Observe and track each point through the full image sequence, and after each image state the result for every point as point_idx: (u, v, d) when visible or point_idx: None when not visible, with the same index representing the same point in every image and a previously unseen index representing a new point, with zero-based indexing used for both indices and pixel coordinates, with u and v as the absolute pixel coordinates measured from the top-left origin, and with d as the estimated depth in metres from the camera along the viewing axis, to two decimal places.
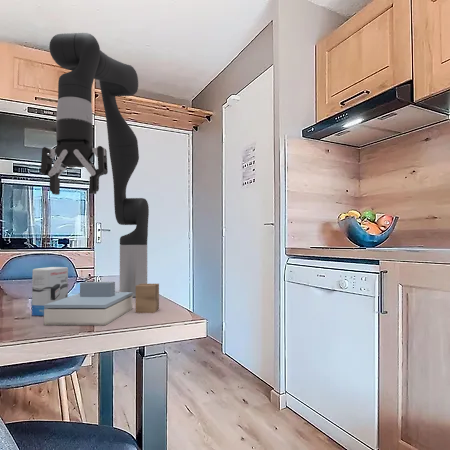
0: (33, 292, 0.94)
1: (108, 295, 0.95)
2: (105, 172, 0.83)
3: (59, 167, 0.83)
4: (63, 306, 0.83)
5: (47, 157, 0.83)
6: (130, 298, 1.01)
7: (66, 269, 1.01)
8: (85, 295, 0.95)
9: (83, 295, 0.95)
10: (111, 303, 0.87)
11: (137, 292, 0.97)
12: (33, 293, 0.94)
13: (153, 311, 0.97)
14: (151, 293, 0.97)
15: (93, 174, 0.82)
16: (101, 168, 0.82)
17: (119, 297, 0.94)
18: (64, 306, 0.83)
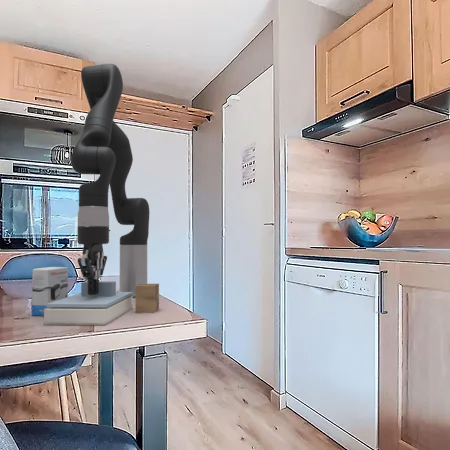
0: (33, 292, 0.94)
1: (109, 295, 0.95)
2: None
3: None
4: (64, 305, 0.84)
5: None
6: (130, 298, 1.01)
7: (66, 269, 1.01)
8: (86, 295, 0.96)
9: (84, 295, 0.96)
10: (112, 302, 0.87)
11: (137, 292, 0.97)
12: (33, 293, 0.94)
13: (153, 311, 0.97)
14: (151, 293, 0.97)
15: (99, 277, 0.94)
16: (102, 271, 0.96)
17: (120, 297, 0.94)
18: (65, 305, 0.84)
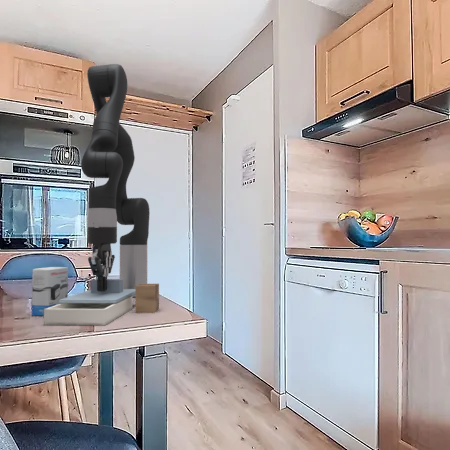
0: (33, 292, 0.94)
1: (117, 291, 1.01)
2: None
3: None
4: (76, 301, 0.90)
5: None
6: (130, 298, 1.01)
7: (66, 269, 1.01)
8: (95, 291, 1.01)
9: (93, 291, 1.02)
10: (120, 299, 0.93)
11: (137, 292, 0.97)
12: (33, 293, 0.94)
13: (153, 311, 0.97)
14: (151, 293, 0.97)
15: (107, 275, 1.00)
16: (110, 270, 1.02)
17: (127, 293, 1.00)
18: (77, 301, 0.90)
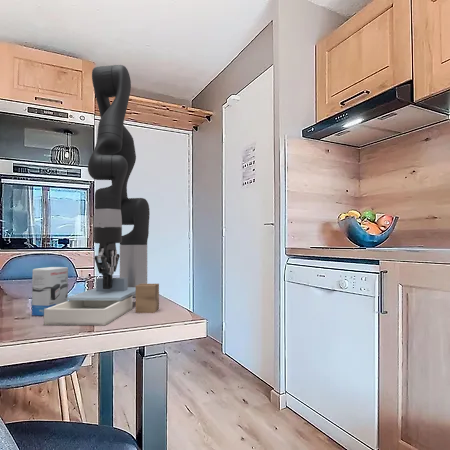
0: (33, 292, 0.94)
1: (122, 289, 1.05)
2: None
3: None
4: (83, 299, 0.94)
5: None
6: (130, 298, 1.01)
7: (66, 269, 1.01)
8: (101, 289, 1.05)
9: (99, 289, 1.05)
10: (125, 296, 0.97)
11: (137, 292, 0.97)
12: (33, 293, 0.94)
13: (153, 311, 0.97)
14: (151, 293, 0.97)
15: (112, 273, 1.04)
16: (115, 268, 1.06)
17: (132, 291, 1.04)
18: (84, 299, 0.94)
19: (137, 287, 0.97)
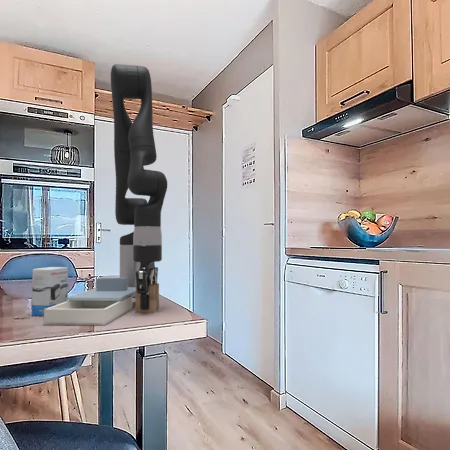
0: (33, 292, 0.94)
1: (122, 289, 1.05)
2: None
3: None
4: (83, 298, 0.94)
5: None
6: (130, 298, 1.01)
7: (66, 269, 1.01)
8: (101, 289, 1.05)
9: (99, 289, 1.05)
10: (125, 296, 0.97)
11: None
12: (33, 293, 0.94)
13: (153, 311, 0.97)
14: (151, 293, 0.97)
15: None
16: None
17: (132, 291, 1.04)
18: (84, 298, 0.94)
19: None
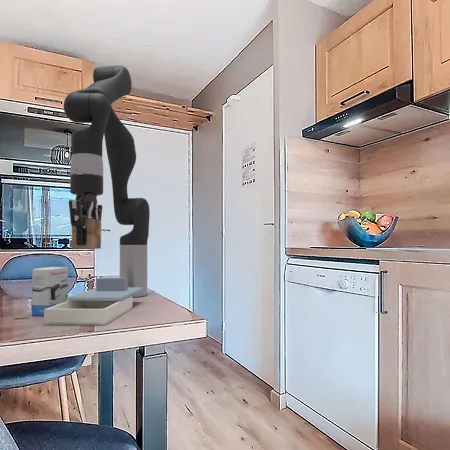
0: (33, 292, 0.94)
1: (122, 289, 1.05)
2: None
3: None
4: (83, 298, 0.94)
5: None
6: (130, 298, 1.01)
7: (66, 269, 1.01)
8: (101, 289, 1.05)
9: (99, 289, 1.05)
10: (125, 296, 0.97)
11: (73, 226, 0.88)
12: (33, 293, 0.94)
13: (91, 247, 0.87)
14: (89, 227, 0.87)
15: None
16: None
17: (132, 291, 1.04)
18: (84, 298, 0.94)
19: None
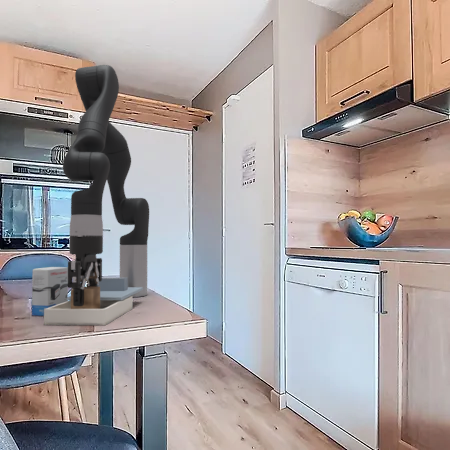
0: (33, 292, 0.94)
1: (122, 289, 1.05)
2: None
3: None
4: None
5: None
6: (130, 298, 1.01)
7: (66, 269, 1.01)
8: (101, 289, 1.06)
9: None
10: (126, 296, 0.97)
11: (72, 296, 0.87)
12: (33, 293, 0.94)
13: None
14: (88, 297, 0.87)
15: (98, 283, 0.94)
16: (101, 277, 0.96)
17: (132, 291, 1.04)
18: None
19: (72, 291, 0.87)
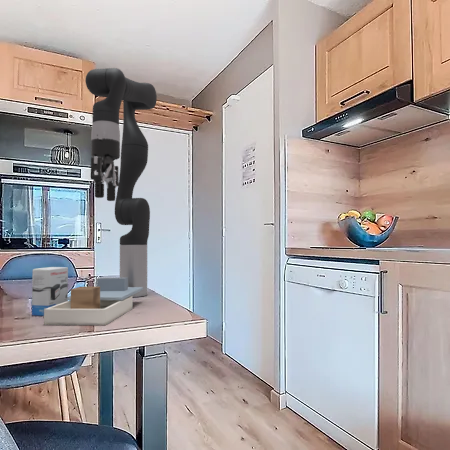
0: (33, 292, 0.94)
1: (122, 289, 1.05)
2: None
3: None
4: None
5: None
6: (130, 298, 1.01)
7: (66, 269, 1.01)
8: (101, 289, 1.06)
9: (100, 289, 1.06)
10: (126, 296, 0.98)
11: (72, 296, 0.87)
12: (33, 293, 0.94)
13: None
14: (88, 297, 0.87)
15: (116, 186, 1.07)
16: (118, 183, 1.09)
17: (132, 291, 1.04)
18: None
19: (72, 291, 0.87)
